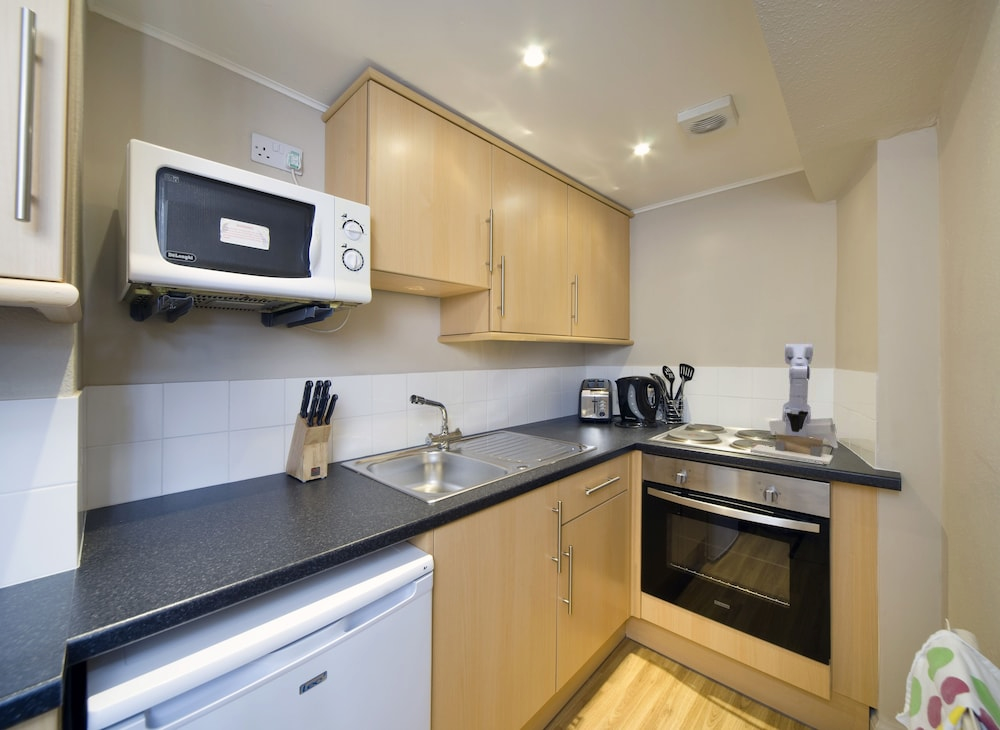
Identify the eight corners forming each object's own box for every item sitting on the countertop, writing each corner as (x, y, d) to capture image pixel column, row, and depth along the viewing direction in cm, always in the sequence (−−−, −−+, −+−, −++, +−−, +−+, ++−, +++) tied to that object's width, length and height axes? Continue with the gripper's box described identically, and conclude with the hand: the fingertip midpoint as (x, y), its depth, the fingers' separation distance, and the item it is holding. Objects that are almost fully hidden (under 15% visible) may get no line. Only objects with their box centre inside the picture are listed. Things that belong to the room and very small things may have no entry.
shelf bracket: (833, 449, 166) (827, 418, 168) (771, 447, 188) (767, 421, 190) (840, 447, 168) (834, 417, 170) (779, 446, 190) (774, 420, 192)
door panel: (777, 448, 160) (777, 433, 160) (821, 455, 150) (822, 439, 150) (776, 449, 158) (776, 434, 158) (821, 456, 148) (821, 440, 148)
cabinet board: (758, 446, 167) (758, 436, 167) (832, 458, 150) (833, 446, 150) (750, 451, 157) (751, 440, 157) (829, 464, 141) (829, 452, 141)
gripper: (789, 393, 165) (787, 426, 165) (782, 396, 154) (781, 431, 155) (810, 395, 160) (809, 429, 160) (805, 398, 149) (803, 434, 150)
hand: (796, 430), depth 157 cm, fingers open, 7 cm apart
